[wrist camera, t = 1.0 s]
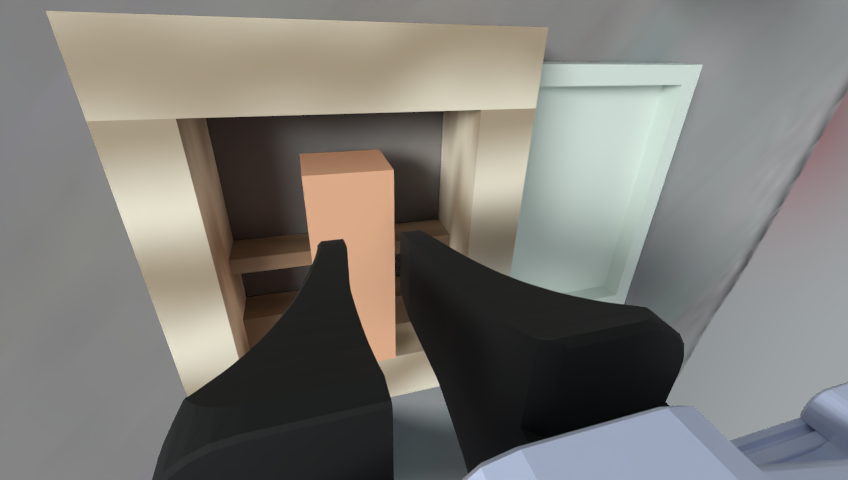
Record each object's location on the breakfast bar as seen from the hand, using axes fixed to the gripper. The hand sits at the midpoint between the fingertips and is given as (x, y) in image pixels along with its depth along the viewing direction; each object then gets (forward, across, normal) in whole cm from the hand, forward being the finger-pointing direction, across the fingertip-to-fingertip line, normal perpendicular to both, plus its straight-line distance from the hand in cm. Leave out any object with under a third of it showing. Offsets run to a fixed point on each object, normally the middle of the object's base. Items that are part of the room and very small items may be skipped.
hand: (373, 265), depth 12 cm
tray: (+10, -14, +3) cm, 17 cm away
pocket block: (+10, 0, +3) cm, 10 cm away
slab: (+8, 0, +4) cm, 9 cm away
